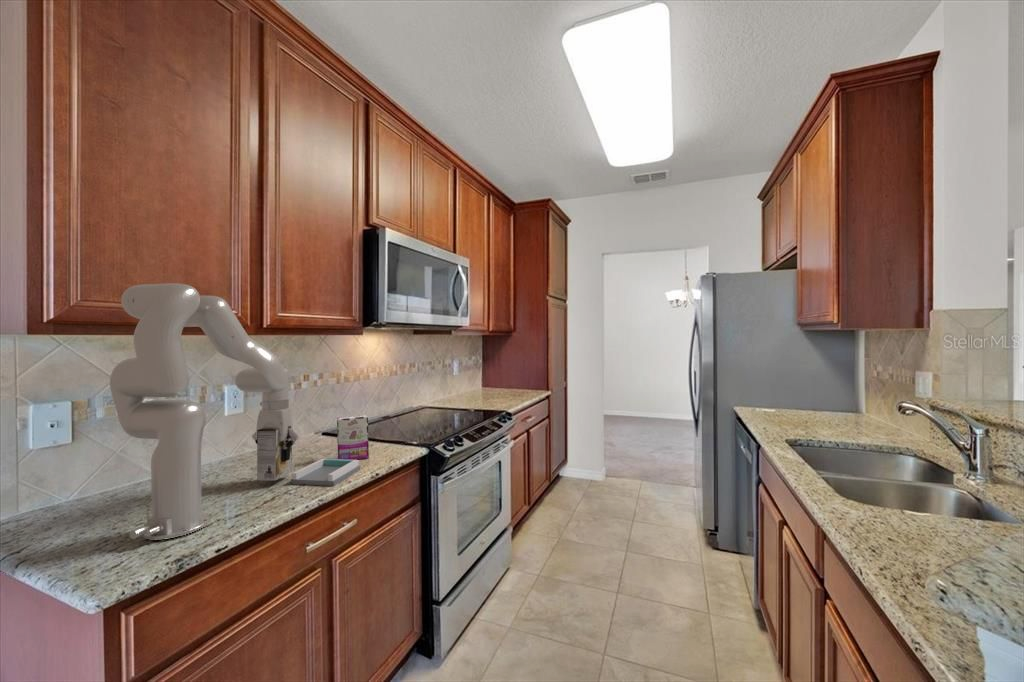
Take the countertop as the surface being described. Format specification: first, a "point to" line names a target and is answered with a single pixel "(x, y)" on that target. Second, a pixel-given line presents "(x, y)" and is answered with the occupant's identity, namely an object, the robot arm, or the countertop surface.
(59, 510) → the countertop surface
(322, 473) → the tray
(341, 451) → the candy bar box
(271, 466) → the coffee box
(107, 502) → the countertop surface
